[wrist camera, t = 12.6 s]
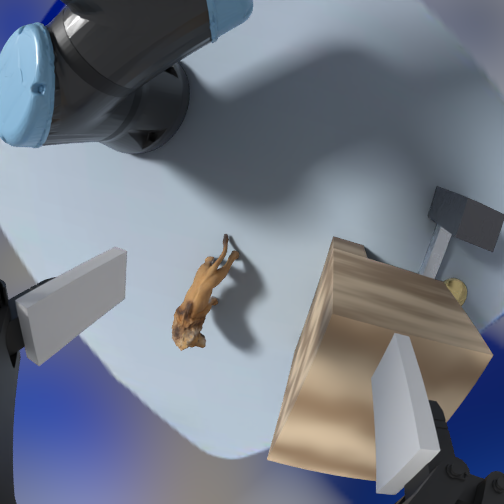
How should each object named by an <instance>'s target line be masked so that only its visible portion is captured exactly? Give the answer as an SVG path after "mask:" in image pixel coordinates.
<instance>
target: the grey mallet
mask: <svg viewBox="0 0 504 504" xmlns="http://www.w3.org/2000/svg"><path fill="white" fill-rule="evenodd" d="M428 217H429V218H430V219H432V220H433V221H435V222H436V223H437V226H436V228H435V231H434V234H433V237H432V240H431V243H430V245H429V248H428V251H427V253H426V256H425V259H424V261H423V264H422V266H421V269H420V271H419V274H420V275H423V276H426V277H430V278H433V279H435V276H436V274H437V272H438V269H439V267H440V264H441V262H442V259H443V256H444V254H445V251H446V249H447V246H448V243H449V240H450V238H451V235H453V236H455V237H456V238H459V239H461V240H464V241H466V242H469V243H471V244H474V245H476V246H479V247H481V248H484V249H486V250H489V251H491V252H493V250H494V247H495V244H496V242H497V239H498V236H499V233H500V230H501V227H502V224H503V221H504V214H502V213H500V212H498V211H496V210H494V209H492V208H490V207H487V206H485V205H483V204H481V203H479V202H476V201H474V200H472V199H470V198H467V197H465V196H462V195H460V194H457V193H454V192H452V191H449V190H446V189H443V188H441V187H438V186H437V187H436V191H435V194H434V198H433V201H432V204H431V207H430V211H429V214H428Z"/></svg>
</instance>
